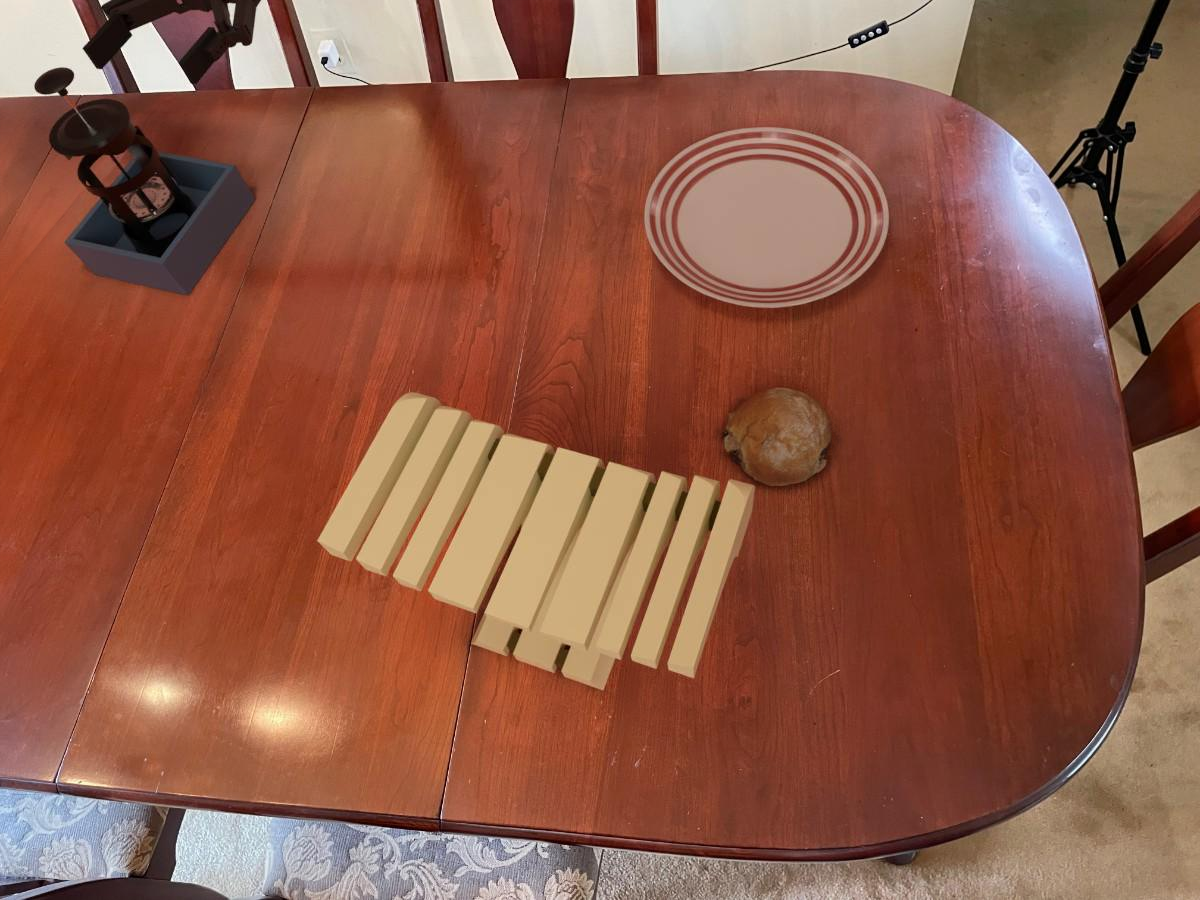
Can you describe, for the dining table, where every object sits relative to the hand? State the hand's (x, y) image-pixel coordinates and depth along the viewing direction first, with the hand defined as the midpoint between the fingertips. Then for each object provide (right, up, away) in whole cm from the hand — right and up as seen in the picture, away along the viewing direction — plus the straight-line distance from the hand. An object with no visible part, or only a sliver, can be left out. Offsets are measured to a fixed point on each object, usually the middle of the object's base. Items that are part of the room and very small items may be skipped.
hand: (138, 66), depth 98 cm
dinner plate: (+72, -19, +1) cm, 75 cm away
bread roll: (+71, -44, -13) cm, 84 cm away
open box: (-1, -17, +11) cm, 20 cm away
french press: (-1, -16, +11) cm, 20 cm away
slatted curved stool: (+50, -57, -18) cm, 78 cm away
